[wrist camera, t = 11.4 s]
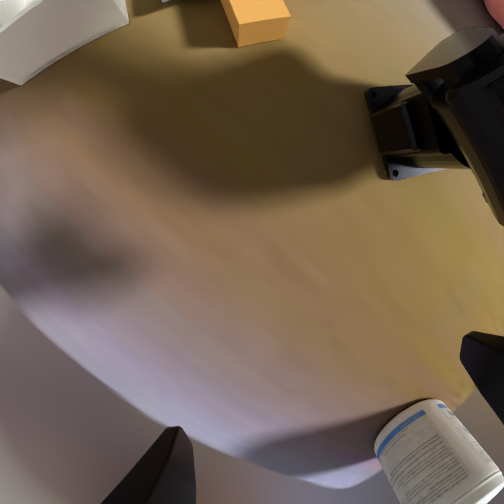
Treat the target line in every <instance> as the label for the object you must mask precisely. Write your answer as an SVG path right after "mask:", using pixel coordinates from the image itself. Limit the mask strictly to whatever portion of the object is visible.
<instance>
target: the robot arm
mask: <svg viewBox="0 0 504 504" xmlns="http://www.w3.org/2000/svg"><path fill="white" fill-rule="evenodd" d="M405 76H406V77H407V78H408V79H409V80H410V82H411V83H414V84H415V85H405V86H388V87H375V88H370V89H368V90H366V92H365V98H366V101H367V104H368V107H369V110H370V113H371V117H370V119H371V122H372V126H373V129H374V133H375V136H376V140H377V144H378V147H379V151H380V153H381V154H382V156H383V161H384V165H385V169H386V173H387V176H388V178H389V179H390V180H401V179H405V178H409V177H413V176H417V175H421V174H425V173H430V172H434V171H438V170H442V169H471V170H472V172H473V173H474V175H475V177H476V179H477V181H478V183H479V185H480V187H481V189H482V191H483V197H484V199H485V201H486V202H487V203H488V204H489V206H490V208H491V210H492V213H493V215H494V216H495V218H496V219H497V221H498V222H499V224H501V225H502V226H504V33H502V34H500V35H498V34H497V33H496V31H495V30H494V29H493V28H482V27H465V28H463V29H461V30H459V31H457V32H456V33H454V34H452V35H451V36H449V37H447V38H446V39H444V40H442V41H441V42H440V43H439V44H438V45H437V46H436V47H434V48H433V49H432V50H431V51H430V52H429V53H428V54H427V55H426V56H425V57H424V58H423V59H422V60H421V61H420V62H418V63H417V64H416V65H415V66H414V67H413V68H412V69H411V70H410V71H409V72H408V73H407V74H406V75H405ZM371 93H373V94H374V97H375V98H373V97H372V96H371ZM393 170H394V171H395V172H396V174H395V176H393V174H392V172H393ZM460 361H461V363H462V364H463V366H464V367H465V369H466V371H467V372H468V374H469V375H470V377H471V379H472V380H473V382H474V383H475V385H476V387H477V388H478V390H479V391H480V393H481V394H482V396H483V397H484V399H485V400H486V401H487V403H488V404H489V405H490V407H491V408H492V409H493V411H494V412H495V413H496V415H497V416H498V418H499V419H500V420H501V422H502V423H503V425H504V337H503V336H498V335H492V334H487V333H482V332H477V331H472V332H470V333H468V334H466V335H465V336H464V337H463V339H462V344H461V350H460ZM101 504H196V481H195V470H194V456H193V446H192V443H191V441H190V440H189V438H188V437H187V435H186V433H185V432H184V430H183V429H182V428H181V427H180V426H174V427H167V428H166V429H165V430H164V431H163V432H162V434H161V435H160V436H159V437H158V438H157V440H156V441H155V442H154V443H153V444H152V446H151V447H150V448H149V449H148V450H147V451H146V453H145V454H144V455H143V456H142V458H141V459H140V460H139V461H138V462H137V463H136V464H135V466H134V467H133V468H132V469H131V470H130V471H129V472H128V474H127V475H126V476H125V477H124V478H123V479H122V481H121V482H120V483H119V484H118V485H117V486H116V487H115V488H114V489H113V491H112V492H111V493H110V494H109V495H108V496H107V497H106V498H105V499H104V501H103V502H102V503H101Z"/></svg>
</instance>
